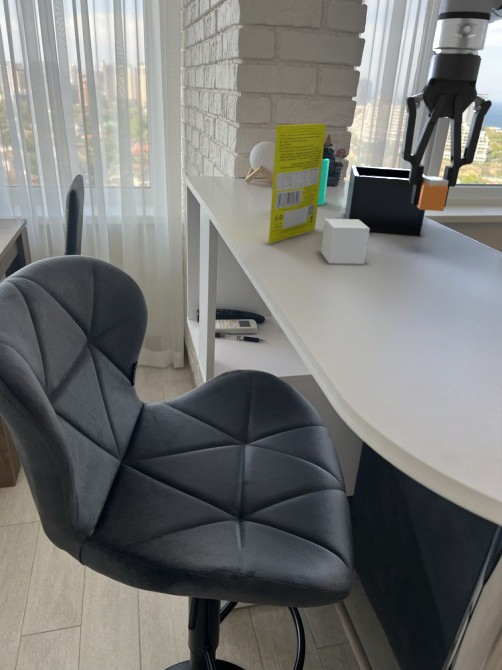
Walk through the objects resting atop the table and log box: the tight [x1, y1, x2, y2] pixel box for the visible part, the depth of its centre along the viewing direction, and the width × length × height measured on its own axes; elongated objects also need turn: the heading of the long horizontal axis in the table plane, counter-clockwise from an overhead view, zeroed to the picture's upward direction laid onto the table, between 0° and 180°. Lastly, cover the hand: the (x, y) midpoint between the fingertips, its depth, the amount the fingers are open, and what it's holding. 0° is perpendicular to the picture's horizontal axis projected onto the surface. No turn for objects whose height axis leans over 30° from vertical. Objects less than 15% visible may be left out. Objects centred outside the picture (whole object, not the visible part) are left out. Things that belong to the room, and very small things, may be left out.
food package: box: [268, 123, 327, 245], centre depth 92 cm, size 15×1×20 cm, turn 141°
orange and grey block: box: [416, 175, 449, 212], centre depth 88 cm, size 4×7×5 cm, turn 172°
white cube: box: [320, 218, 370, 265], centre depth 85 cm, size 6×6×6 cm
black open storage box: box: [344, 165, 426, 237], centre depth 107 cm, size 15×15×11 cm
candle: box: [317, 158, 330, 206], centre depth 124 cm, size 6×6×12 cm
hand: (427, 204), depth 89 cm, fingers closed on orange and grey block, 4 cm apart
